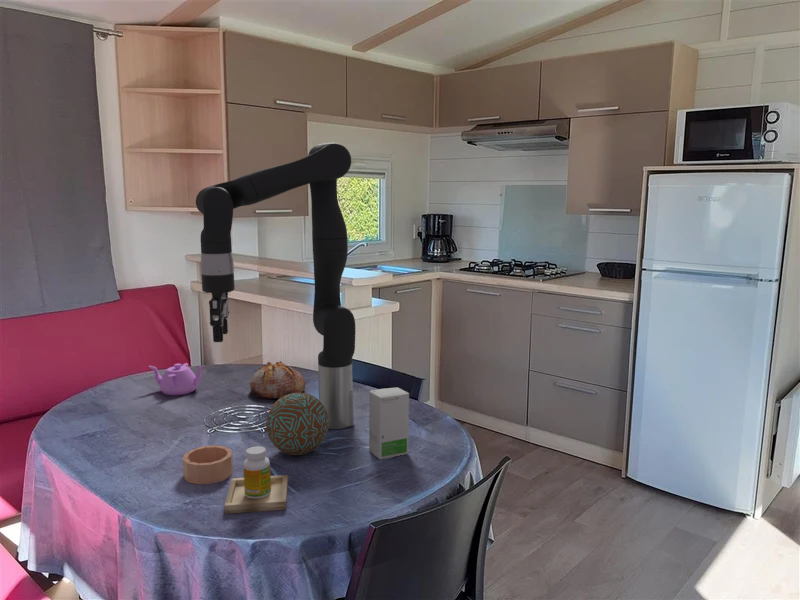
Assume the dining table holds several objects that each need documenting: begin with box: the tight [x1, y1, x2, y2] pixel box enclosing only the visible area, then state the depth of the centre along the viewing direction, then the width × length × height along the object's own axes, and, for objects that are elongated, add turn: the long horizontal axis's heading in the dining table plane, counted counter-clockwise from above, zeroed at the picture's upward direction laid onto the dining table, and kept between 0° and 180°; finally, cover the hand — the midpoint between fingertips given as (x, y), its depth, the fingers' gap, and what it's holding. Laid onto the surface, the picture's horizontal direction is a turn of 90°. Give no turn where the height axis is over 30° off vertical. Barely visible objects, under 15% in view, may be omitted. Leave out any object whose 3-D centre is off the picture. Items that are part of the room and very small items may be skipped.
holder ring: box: [182, 444, 234, 485], centre depth 142 cm, size 10×10×4 cm
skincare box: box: [368, 387, 410, 460], centre depth 153 cm, size 8×7×16 cm
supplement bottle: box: [242, 445, 271, 499], centre depth 131 cm, size 5×5×10 cm
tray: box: [224, 474, 289, 515], centre depth 131 cm, size 12×12×2 cm
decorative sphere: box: [265, 392, 329, 456], centre depth 153 cm, size 15×15×15 cm
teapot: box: [148, 362, 205, 396], centre depth 200 cm, size 12×14×9 cm
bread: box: [249, 360, 306, 400], centre depth 200 cm, size 16×20×10 cm
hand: (220, 337), depth 153 cm, fingers open, 8 cm apart
